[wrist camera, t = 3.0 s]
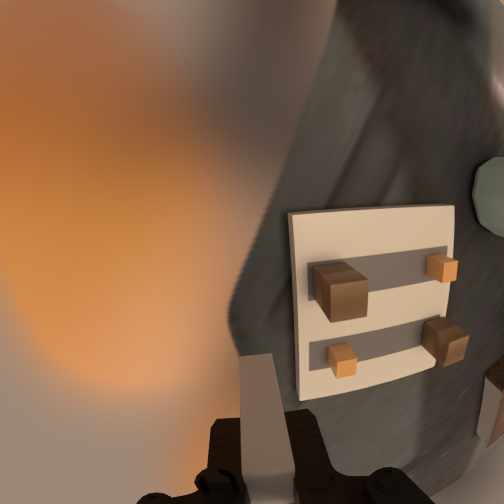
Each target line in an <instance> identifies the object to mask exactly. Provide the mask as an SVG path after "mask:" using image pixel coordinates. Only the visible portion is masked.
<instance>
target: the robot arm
mask: <svg viewBox="0 0 504 504" xmlns="http://www.w3.org/2000/svg"><path fill="white" fill-rule="evenodd" d="M239 366H240V418H225V419H217V420H216V421H215V422H214V424H213V426H212V427H211V431H210V442H209V454H208V464H207V469H205V470H202V471H201V472H200V473H199V474H198V475H197V476H196V479H195V482H194V483H195V485H196V487H197V488H198V490H197V491H196V492H194V493H191V494H188V495H183V496H178V497H173V498H171V497H170V496H168V495H166V494H164V493H149V494H147V495H145V496H143V497H142V498H141V499H140V500H139V501H138V502H137V504H289V503H295V504H435V503H434V502H433V501H432V500H431V499H430V498H429V497H428V496H427V495H426V494H425V493H424V492H423V491H422V490H421V489H420V488H419V487H418V486H417V485H416V484H415V483H414V482H413V481H412V480H411V479H410V478H409V477H408V476H407V475H406V474H405V473H404V472H403V471H401V470H400V469H397V468H393V467H385V468H381V469H378V470H376V471H375V472H373V473H372V474H371V475H370V476H346V475H343V474H341V473H339V472H337V471H336V470H335V469H334V468H333V467H332V465H331V462H330V459H329V456H328V453H327V450H326V447H325V444H324V441H323V438H322V436H321V432H320V429H319V426H318V423H317V420H316V417H315V416H314V415H313V414H312V413H311V412H310V411H309V410H308V409H302V410H296V411H289V412H284V411H283V406H282V401H281V396H280V392H279V387H278V382H277V377H276V372H275V367H274V362H273V357H272V353H269V354H260V355H251V356H240V357H239Z"/></svg>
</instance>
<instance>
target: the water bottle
mask: <svg viewBox="0 0 504 504" xmlns="http://www.w3.org/2000/svg"><path fill="white" fill-rule="evenodd" d="M472 198H473V202H474V206H475V210H476V214H477V219H478V220H479V222H480V224H481V225H482V226H484V227H485V228H487V229H488V230H490V231H491V232H493V233H494V234H495V235H499V236H503V237H504V157H493V158H492V159H490V160H489V161H487V162H486V163H484V164H483V165H481V166H480V167H479V168H478V170H477V171H476V175H475V181H474V186H473V191H472Z"/></svg>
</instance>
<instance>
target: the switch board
mask: <svg viewBox="0 0 504 504" xmlns="http://www.w3.org/2000/svg"><path fill="white" fill-rule="evenodd" d="M288 226H289V240H290V255H291V271H292V289H293V309H294V334H295V366H296V390H297V393H298V397H299V400H300V401H302V400H308V399H314V398H320V397H325V396H330V395H335V394H340V393H345V392H349V391H353V390H358V389H362V388H366V387H370V386H374V385H377V384H381V383H385V382H388V381H392V380H395V379H398V378H401V377H405V376H408V375H411V374H414V373H417V372H420V371H423V370H426V369H428V368H431V367H434V365H435V361H436V359H435V358H434V357H433V356H432V355H431V354H430V353H429V352H428V351H427V350H425V349H424V348H423V347H422V346H421V341H422V336H423V330H424V324H425V322H427V321H430V320H434V319H437V318H441V317H445V315H446V309H447V303H448V296H449V288H450V281H455V280H456V275H457V265H458V260H455V259H453V244H454V206H453V205H446V204H418V205H395V206H375V207H358V208H343V209H328V210H315V211H302V212H290V213H288ZM345 262H346V263H347V264H348V265H350V266H351V267H352V268H354V269H355V270H357V271H358V272H359V273H361V274H362V275H363V276H365V277H366V278H367V279H369V289H368V309H367V317H363V318H357V319H352V320H346V321H340V322H334V323H330V322H329V320H328V319H327V317H326V316H325V314H324V312H323V311H322V309H321V308H320V306H319V305H318V303H317V302H316V300H315V299H314V270H313V266H320V265H329V264H337V263H345Z"/></svg>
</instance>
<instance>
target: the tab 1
mask: <svg viewBox="0 0 504 504" xmlns="http://www.w3.org/2000/svg"><path fill="white" fill-rule="evenodd" d="M313 270H314V299H315V300H316V302H317V303H318V305H319V306H320V308H321V309H322V311H323V312H324V314H325V316H326V317H327V319H328V320H329V322H330V323H334V322H340V321H346V320H352V319H357V318H363V317H367V309H368V289H369V279H367V278H366V277H365V276H363V275H362V274H361V273H359V272H358V271H357V270H355V269H354V268H352V267H351V266H350V265H348V264H347V263H346V262H345V263H337V264H329V265H320V266H313Z"/></svg>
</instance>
